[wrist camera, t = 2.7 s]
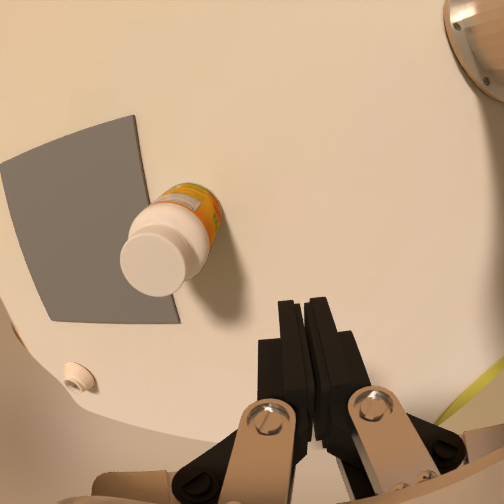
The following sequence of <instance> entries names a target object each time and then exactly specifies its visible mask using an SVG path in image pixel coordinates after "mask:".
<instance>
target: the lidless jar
mask: <svg viewBox="0 0 504 504" xmlns="http://www.w3.org/2000/svg"><path fill="white" fill-rule="evenodd" d="M64 384H65V386H66V387H67V388H68V389H69V390H71V391H72V392H74V393H77V394H80V393H82V392H83V391H86V390H88V389H89V388H91V387H92V386H93V385H94V378H93V376H92V375H91V374H90V373H89V371H88V370H86V369H85V368H84V367H82V366H81V365H79V364H77V363H73V362H67V363H66V364H65V366H64Z"/></svg>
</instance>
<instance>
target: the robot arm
mask: <svg viewBox="0 0 504 504" xmlns="http://www.w3.org/2000/svg"><path fill="white" fill-rule="evenodd" d="M444 21H445V27H446V31H447V34H448V38H449V41H450V43H451V46H452V48H453V50H454V53H455V55H456V56H457V58H458V60H459V62H460V64H461V66H462V67H463V68H464V70H465V71H466V73H467V74H468V76H469V77H470V78H471V79H472V81H473V82H474V83H475V84H476V85H477V86H478V87H479V88H480V89H481V90H482V91H483V92H484V93H486V94H487V95H489V96H490V97H492V98H493V99H496V100H498V101H501V102H504V0H446V1H445V5H444ZM278 311H279V324H280V338H276V339H263V340H258V391H257V401H256V402H254V403H252V404H251V405H249V406H248V407H247V408H246V409H245V410H244V412H243V414H242V416H241V419H240V423H239V427H238V429H237V430H236V431H234V432H233V433H232V434H230V435H229V436H228V437H226V438H225V439H223V440H222V441H221V442H219V443H218V444H217V445H215V446H214V447H213V448H211V449H209V450H208V451H207V452H205V453H204V454H202V455H201V456H199V457H198V458H196V459H195V460H193V461H192V462H190V463H189V464H187V465H186V466H184V467H183V468H181V469H180V470H179V471H178V472H167V471H166V470H162V471H143V472H108V473H103V474H101V475H99V476H98V477H97V478H96V479H95V481H94V482H93V485H92V494H91V496H80V497H72V498H67V499H63V500H61V501H58V502H56V503H55V504H291V500H292V492H293V484H294V477H295V469H296V464H297V463H298V462H299V461H300V460H302V458H304V457H305V455H307V444H308V442H311V438H312V426H313V423H314V430H315V438H316V441H319V440H322V445H323V448H327V452H329V453H330V454H332V455H334V456H335V457H336V460H337V464H338V467H339V469H340V472H341V475H342V478H343V481H344V483H345V486H346V489H347V492H348V494H349V497H350V500H351V501H350V502H344V503H338V504H504V424H500V425H495V426H491V427H486V428H481V429H476V430H470V431H464V432H463V434H462V435H457V434H455V433H454V432H451V431H449V430H446V429H443V428H441V427H439V426H436V425H434V424H431V423H429V422H426V421H424V420H422V419H419V418H417V417H415V416H412V415H410V414H408V413H406V412H405V411H404V409H403V407H402V406H401V404H400V402H399V401H398V399H397V397H396V396H395V395H394V394H393V393H392V392H391V391H389V390H388V389H386V388H383V387H380V386H371V383H370V380H369V377H368V374H367V371H366V369H365V366H364V363H363V360H362V357H361V355H360V352H359V349H358V347H357V344H356V341H355V338H354V336H353V333H352V332H351V331H342V332H337V329H336V326H335V323H334V320H333V317H332V314H331V311H330V308H329V305H328V302H327V299H326V297H317V298H310V302H309V303H304V323H303V318H302V313H301V307H300V303H299V304H294V301H293V300H286V301H278Z"/></svg>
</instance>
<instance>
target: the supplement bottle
mask: <svg viewBox="0 0 504 504" xmlns="http://www.w3.org/2000/svg"><path fill="white" fill-rule="evenodd" d="M221 221H222V209H221V205H220V203H219V200H218V199H217V197H216V196H215V194H214V193H213V192H212V191H211V190H209V189H208V188H206V187H205V186H203V185H200V184H197V183H191V182H187V183H181V184H178V185H175V186H173V187H172V188H170V189H169V190H167V191H166V192H165V193H164V194H162V195H161V196H160V197H159V198H157V199H156V200H155V201H154V202H153V203H151V204H150V205H149V206H148V207H146V208H145V209H144V210H143V211H142V212H141V213H140V214H139V215H138V216H137V217H136V218H135V220H134V221H133V223H132V225H131V227H130V230H129V235H128V240H127V241H126V243H125V244H124V246H123V248H122V250H121V254H120V265H121V269H122V272H123V274H124V276H125V278H126V279H127V281H128V282H129V283H130V284H131V285H132V286H133V287H134V288H135V289H137V290H138V291H140V292H142V293H144V294H146V295H149V296H153V297H164V296H168V295H171V294H173V293H175V292H176V291H177V290H178V289H179V288H180V287H181V286H182V285H183V283H184V281H187V280H189V279H191V278H192V277H194V276H195V275H196V274H197V273H198V272H199V271H200V270H201V269H202V267H203V266H204V264H205V262H206V260H207V258H208V255H209V253H210V250H211V247H212V245H213V242H214V240H215V237H216V235H217V233H218V230H219V228H220V225H221Z"/></svg>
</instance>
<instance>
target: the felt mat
mask: <svg viewBox="0 0 504 504" xmlns="http://www.w3.org/2000/svg"><path fill="white" fill-rule="evenodd" d="M0 173H1V178H2V182H3V187H4V191H5V195H6V199H7V203H8V207H9V211H10V215H11V218H12V222H13V225H14V228H15V232H16V235H17V238H18V241H19V244H20V247H21V250H22V253H23V255H24V258H25V261H26V264H27V266H28V269H29V271H30V274H31V277H32V279H33V281H34V284H35V286H36V289H37V291H38V293H39V296H40V298H41V300H42V302H43V304H44V307H45V309H46V311H47V313H48V315H49V317H50V319H51V320H53V321H71V322H96V323H179V321H180V320H179V317H178V313H177V310H176V306H175V303H174V299H173V296H172V294H171V295H168V296H164V297H153V296H149V295H146V294H144V293H142V292H140V291H138V290H137V289H135V288H134V287H133V286H132V285H131V284H130V283H129V282H128V281H127V279H126V278H125V276H124V274H123V272H122V269H121V265H120V254H121V250H122V248H123V246H124V244H125V243H126V241H127V240H128V235H129V230H130V227H131V225H132V223H133V221H134V220H135V218H136V217H137V216H138V215H139V214H140V213H141V212H142V211H143V210H144V209H145V208H146V207H148V206H149V205H150V202H149V197H148V192H147V187H146V182H145V177H144V172H143V166H142V160H141V155H140V149H139V143H138V136H137V130H136V123H135V116H134V115H130V116H127V117H123V118H120V119H116V120H113V121H109V122H106V123H103V124H99V125H96V126H93V127H90V128H87V129H84V130H81V131H78V132H75V133H72V134H70V135H67V136H64V137H61V138H59V139H56V140H54V141H51V142H49V143H46V144H44V145H41V146H39V147H36V148H34V149H32V150H29V151H27V152H25V153H23V154H20V155H18V156H16V157H14V158H12V159H10V160H7V161H5V162H3V163H1V164H0Z"/></svg>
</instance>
